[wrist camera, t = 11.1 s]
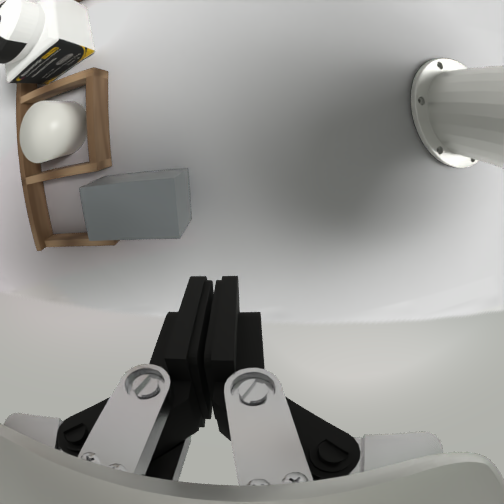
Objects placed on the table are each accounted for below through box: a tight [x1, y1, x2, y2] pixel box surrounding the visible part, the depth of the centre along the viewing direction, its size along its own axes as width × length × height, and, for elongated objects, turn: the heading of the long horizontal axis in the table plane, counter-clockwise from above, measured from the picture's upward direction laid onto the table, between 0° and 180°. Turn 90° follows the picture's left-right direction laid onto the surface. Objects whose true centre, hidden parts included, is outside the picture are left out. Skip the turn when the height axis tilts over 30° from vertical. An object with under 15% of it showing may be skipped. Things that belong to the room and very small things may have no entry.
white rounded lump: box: [20, 101, 87, 163], centre depth 20 cm, size 6×6×5 cm
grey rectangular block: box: [79, 168, 192, 241], centre depth 24 cm, size 9×5×5 cm, turn 91°
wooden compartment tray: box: [16, 0, 120, 251], centre depth 20 cm, size 11×30×3 cm, turn 0°
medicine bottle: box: [0, 0, 95, 84], centre depth 12 cm, size 7×7×12 cm
